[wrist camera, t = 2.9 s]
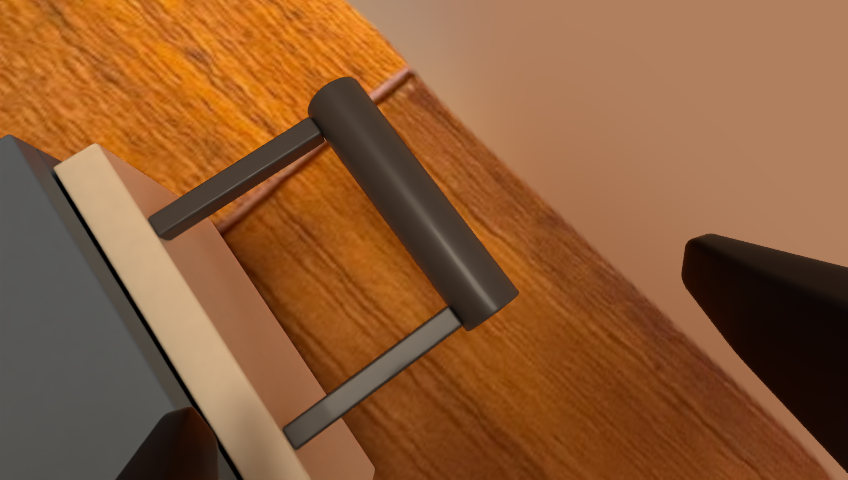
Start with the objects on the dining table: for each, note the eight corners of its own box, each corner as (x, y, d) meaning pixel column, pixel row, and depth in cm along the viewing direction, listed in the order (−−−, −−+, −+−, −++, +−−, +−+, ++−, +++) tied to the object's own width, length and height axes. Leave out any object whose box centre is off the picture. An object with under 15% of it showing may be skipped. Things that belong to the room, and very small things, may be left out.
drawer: (342, 127, 19) (306, 3, 12) (515, 359, 18) (587, 369, 11) (-110, 417, 17) (-493, 469, 9) (44, 729, 15) (-286, 1079, 8)
